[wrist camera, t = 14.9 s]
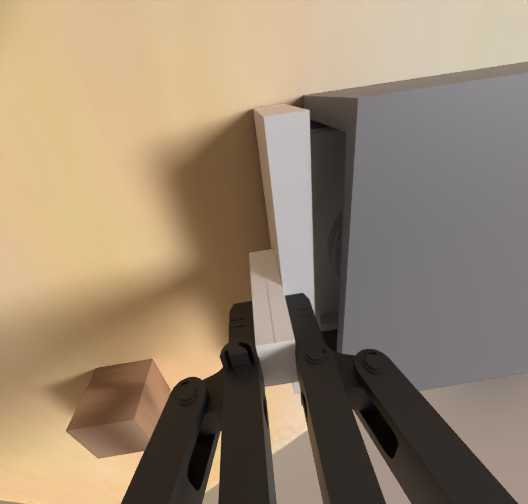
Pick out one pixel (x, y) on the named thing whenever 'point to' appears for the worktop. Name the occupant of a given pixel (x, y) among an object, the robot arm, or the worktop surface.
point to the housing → (434, 223)
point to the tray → (302, 203)
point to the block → (120, 409)
